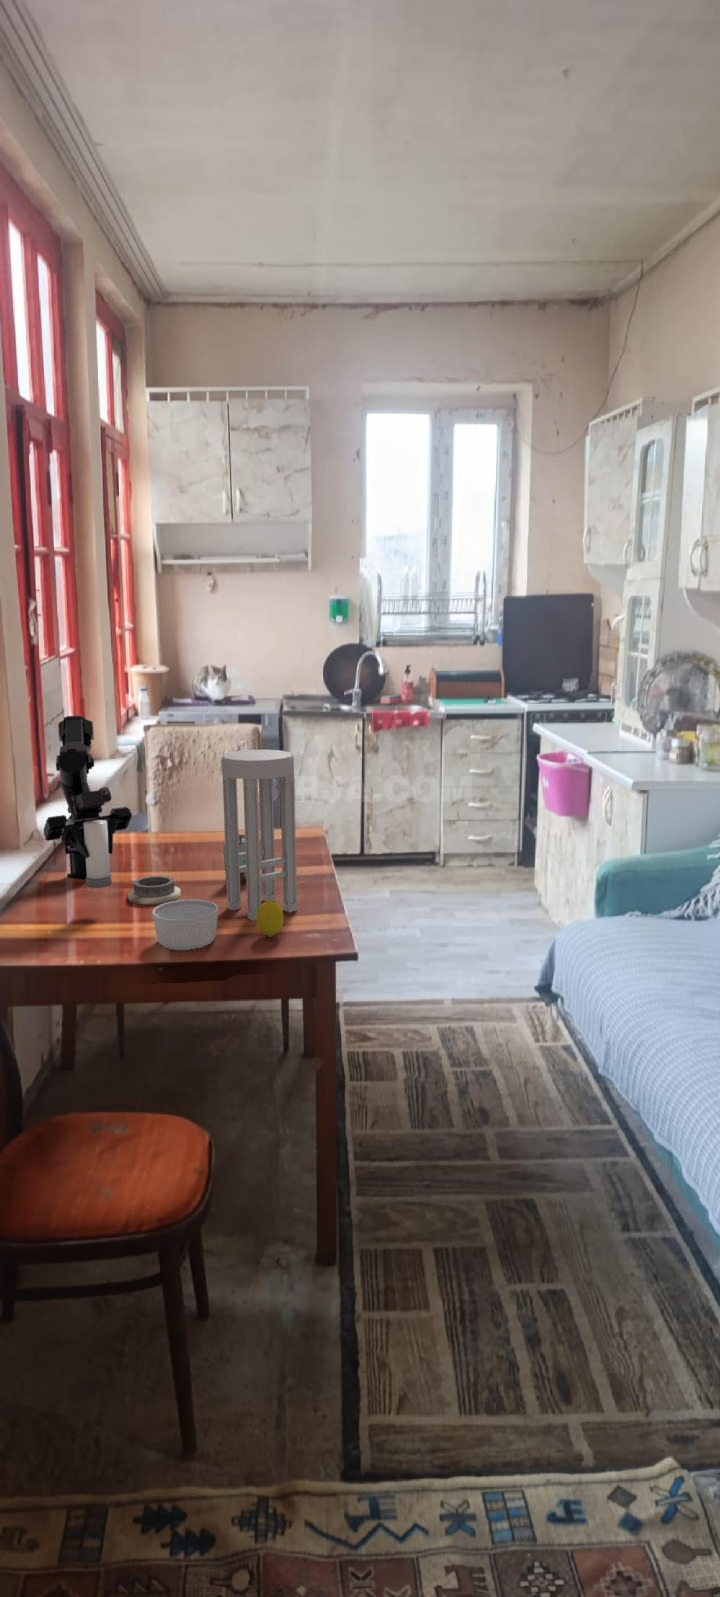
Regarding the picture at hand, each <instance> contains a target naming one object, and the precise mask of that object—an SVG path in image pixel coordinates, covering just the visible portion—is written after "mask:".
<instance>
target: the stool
mask: <svg viewBox="0 0 720 1597" xmlns="http://www.w3.org/2000/svg"><path fill="white" fill-rule="evenodd" d="M220 764H221V776H222V797H223V800H222V801H223V802H222V804H223V822H224V823H223V825H224V826H223V827H224V845H225V856H226V873H225V883H226V882H227V884H226V904H227V909H229V910H231V911H235V910H236V911H237V910H240V909H242V900H241V898H242V897H241V896H242V895H241V883H240V873H241V872H246V882H245V883H246V905H247V908H246V909H247V919H249V920H251V921H256V917H257V911H258V908H259V907H260V905H261V904H262V901H263V902H266V901H268V900H272V901H274V902H276V901H277V897H276V896H277V895H276V893H277V892H276V889H277V888H276V879H280V878H281V879H282V902H283V903H282V905H283V907H282V911H285V912H286V913H293V911H294V912H297V911H298V887H297V885H298V883H297V881H298V880H297V844H296V842H297V841H296V840H297V837H296V836H297V835H296V805H295V804H296V803H295V802H296V799H295V797H296V796H295V794H296V793H295V759H294V755H293V752H290V751H285V750H278V749H247V750H245V749H244V750H236V751H230V752H227V753H223V755H222V754H221V763H220ZM275 778H276V779H277V778H279V785H280V786H279V787H280V793H279V794H280V796H279V797H280V825H281V826H280V829H281V830H280V831H281V856H280V857H276V856H275V854H276V853H275V851H276V850H275V827H274V826H275V825H274V824H275V822H274V821H275V817H274V789H273V788H274V785H273V782H274V781H273V780H274V779H275ZM237 779H239V780H240V779H242V781H243V782H242V784H243V788H242V789H243V790H242V792H243V817H244V818H243V819H244V823H243V824H244V835H245V852H243V853H239V836H238V834H239V818H238V817H239V814H238V813H239V812H238V811H239V810H238V786H237ZM245 858H246V865H245V866H240V865H239V859H245ZM281 864H282V865H281ZM276 865H277V866H278V865H281V866H282V867H281V868H282V870H279V871H276Z"/></svg>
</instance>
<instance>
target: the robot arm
mask: <svg viewBox="0 0 720 1597" xmlns="http://www.w3.org/2000/svg"><path fill="white" fill-rule="evenodd" d="M93 723H94V722H93V721H92V720H90V719H89V720H88V719H87V718H86V717H85V716H83V715H67V716H65V717H64V716H63V720H61V721H60V722H58V727H57V728H58V739H59V741H60V742H61V743H62V746H60V747H59V754H57V755H56V759H55V768H56V771H57V772H59V775H60V787H61V789H62V793H63V796H64V798H65V801H66V804H67V812H68V814H70V815H69V817H68V818H67V816H66V815H63V814H62V815H61V814H60V815H55V816H49V817H47V819H46V821H45V824H44V827H43V836H44V839H45V841H47V842H48V841H49V842H50V841H56V840H61V842H64V850H65V855H69V866H70V869H69V870H70V872H69V873H67V874H66V877H69V878H78V879H84V880H86V876H87V870H86V858H88V856H89V854H88V850H87V848H86V845H85V839H84V824H83V823H84V822H87V821H92V820H104V821H107V828H108V845H109V855H112V854H113V848H114V847H113V845H114V834H115V833H116V832H117V831H123V830H126V829H128V827H129V824H130V821H131V820H132V817H133V813H132V810H131V809H130V808H129V807H127V806H122V807H121V806H120V807H114V808H111V810H110V812H109V814H107V815H100V814H101V813H102V811H103V808H102V806H105V804H106V803H109V802H110V801H111V800H112V794H111V790H110V788H109V787H108V786H107V787H106V786H104V787H100V789H98V790H92V791H91V789H90V786H89V784H88V774H89V773H90V770H92V769H93V767H94V766H95V758H93V755H92V753H90V751H91V750H92V740H93V741H94V739H95V737H94V736H95V734H94V724H93Z"/></svg>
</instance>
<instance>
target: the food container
mask: <svg viewBox="0 0 720 1597" xmlns="http://www.w3.org/2000/svg"><path fill="white" fill-rule="evenodd" d="M238 836H239V853H243V852H245V834H240V833H238ZM222 854H223V858H224V871H225V872H224V873H225V874H226V856H225V844H223V847H222ZM239 865H240V866H245V865H246V858H245V859H239ZM244 883H245V884H246V883H247V882H246V872H241V873H240V884H244ZM225 884H226V885H227V882H226V881H225Z"/></svg>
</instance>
